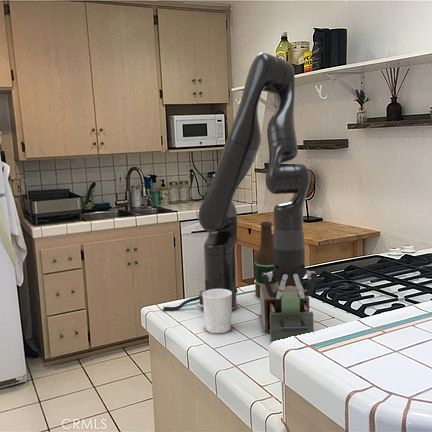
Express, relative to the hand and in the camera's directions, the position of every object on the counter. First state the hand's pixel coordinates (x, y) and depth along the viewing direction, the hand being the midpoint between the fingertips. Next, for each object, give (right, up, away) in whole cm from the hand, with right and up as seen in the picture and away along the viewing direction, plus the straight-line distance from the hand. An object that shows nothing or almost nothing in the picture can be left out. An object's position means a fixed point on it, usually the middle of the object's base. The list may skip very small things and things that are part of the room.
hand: (289, 311), depth 126 cm
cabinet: (0, -5, +12) cm, 13 cm away
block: (0, 0, 0) cm, 0 cm away
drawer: (0, -6, 0) cm, 6 cm away
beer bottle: (-1, -2, +36) cm, 36 cm away
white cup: (-18, -7, +9) cm, 21 cm away
